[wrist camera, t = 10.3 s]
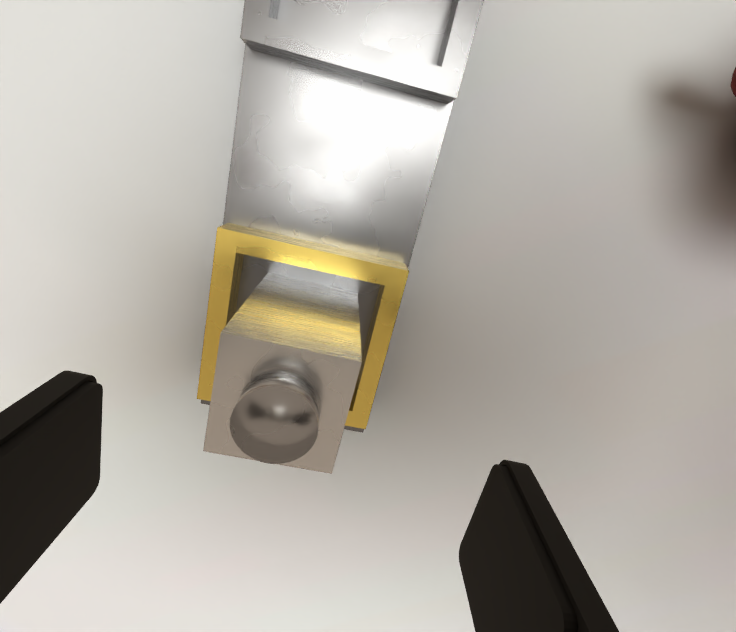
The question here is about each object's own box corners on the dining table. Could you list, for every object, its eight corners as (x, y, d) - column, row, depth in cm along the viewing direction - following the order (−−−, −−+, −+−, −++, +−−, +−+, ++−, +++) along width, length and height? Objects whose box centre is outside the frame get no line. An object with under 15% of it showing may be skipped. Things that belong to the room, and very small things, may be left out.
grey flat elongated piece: (510, -146, 15) (554, -232, 12) (361, 410, 23) (363, 451, 20) (294, -223, 14) (277, -339, 11) (213, 383, 22) (189, 421, 19)
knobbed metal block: (357, 293, 19) (362, 378, 11) (337, 372, 20) (330, 497, 12) (267, 272, 18) (209, 346, 11) (253, 354, 19) (191, 473, 12)
